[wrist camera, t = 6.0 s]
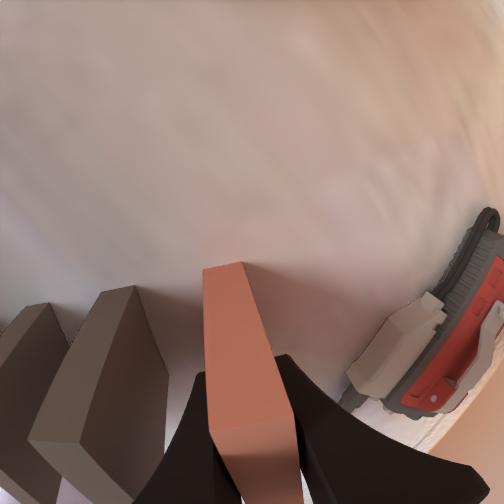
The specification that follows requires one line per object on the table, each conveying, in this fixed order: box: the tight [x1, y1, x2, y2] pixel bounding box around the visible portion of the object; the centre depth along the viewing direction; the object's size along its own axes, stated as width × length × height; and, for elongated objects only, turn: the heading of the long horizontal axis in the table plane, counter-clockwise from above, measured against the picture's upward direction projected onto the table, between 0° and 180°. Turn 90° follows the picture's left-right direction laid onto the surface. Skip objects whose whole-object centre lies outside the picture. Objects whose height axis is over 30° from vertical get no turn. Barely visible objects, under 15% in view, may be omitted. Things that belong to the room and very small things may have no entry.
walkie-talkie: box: [337, 207, 504, 420], centre depth 15 cm, size 9×4×20 cm
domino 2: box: [27, 285, 169, 504], centre depth 9 cm, size 2×5×8 cm, turn 10°
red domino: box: [203, 262, 304, 504], centre depth 10 cm, size 2×5×8 cm, turn 9°
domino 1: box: [0, 302, 70, 504], centre depth 9 cm, size 2×5×8 cm, turn 9°
